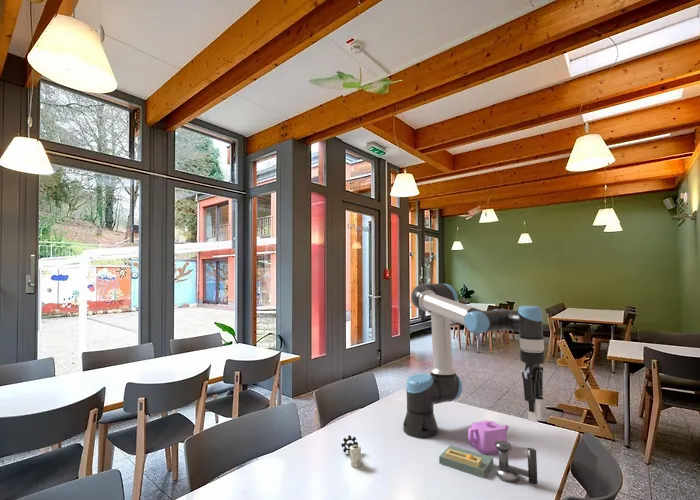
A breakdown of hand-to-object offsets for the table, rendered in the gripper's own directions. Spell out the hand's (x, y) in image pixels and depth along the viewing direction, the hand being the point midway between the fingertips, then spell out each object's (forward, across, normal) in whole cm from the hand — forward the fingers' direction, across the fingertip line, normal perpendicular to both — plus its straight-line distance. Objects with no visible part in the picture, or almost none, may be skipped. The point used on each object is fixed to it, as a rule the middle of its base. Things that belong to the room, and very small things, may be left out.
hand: (534, 419), depth 123 cm
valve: (+19, +39, -51) cm, 67 cm away
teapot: (+19, -8, -21) cm, 29 cm away
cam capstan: (+18, +8, -4) cm, 20 cm away
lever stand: (+19, +11, -20) cm, 30 cm away
